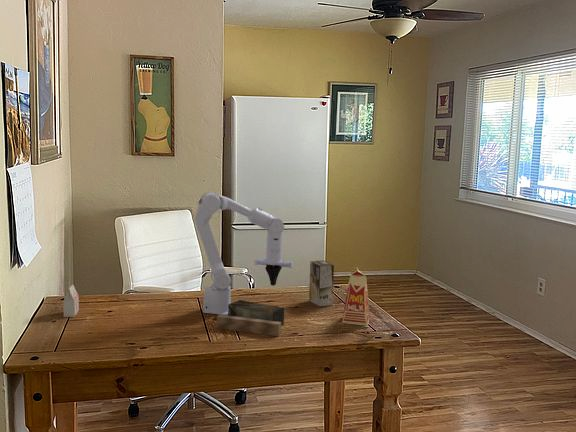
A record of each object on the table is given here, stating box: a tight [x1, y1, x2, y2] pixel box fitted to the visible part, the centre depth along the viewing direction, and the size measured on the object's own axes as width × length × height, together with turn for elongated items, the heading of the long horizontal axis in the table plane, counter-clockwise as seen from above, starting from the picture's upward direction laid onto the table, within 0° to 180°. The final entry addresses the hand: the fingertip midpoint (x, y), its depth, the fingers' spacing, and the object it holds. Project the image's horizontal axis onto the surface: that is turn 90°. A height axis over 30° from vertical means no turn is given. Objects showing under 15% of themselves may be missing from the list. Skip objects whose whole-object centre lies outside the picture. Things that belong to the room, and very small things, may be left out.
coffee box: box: [308, 260, 335, 307], centre depth 230 cm, size 9×6×16 cm
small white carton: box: [62, 284, 80, 318], centre depth 208 cm, size 4×7×10 cm, turn 8°
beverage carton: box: [227, 299, 286, 326], centre depth 205 cm, size 8×19×7 cm, turn 61°
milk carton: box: [341, 267, 370, 327], centre depth 208 cm, size 9×9×20 cm
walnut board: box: [216, 314, 282, 337], centre depth 195 cm, size 22×2×4 cm, turn 73°
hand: (273, 284), depth 219 cm, fingers closed
